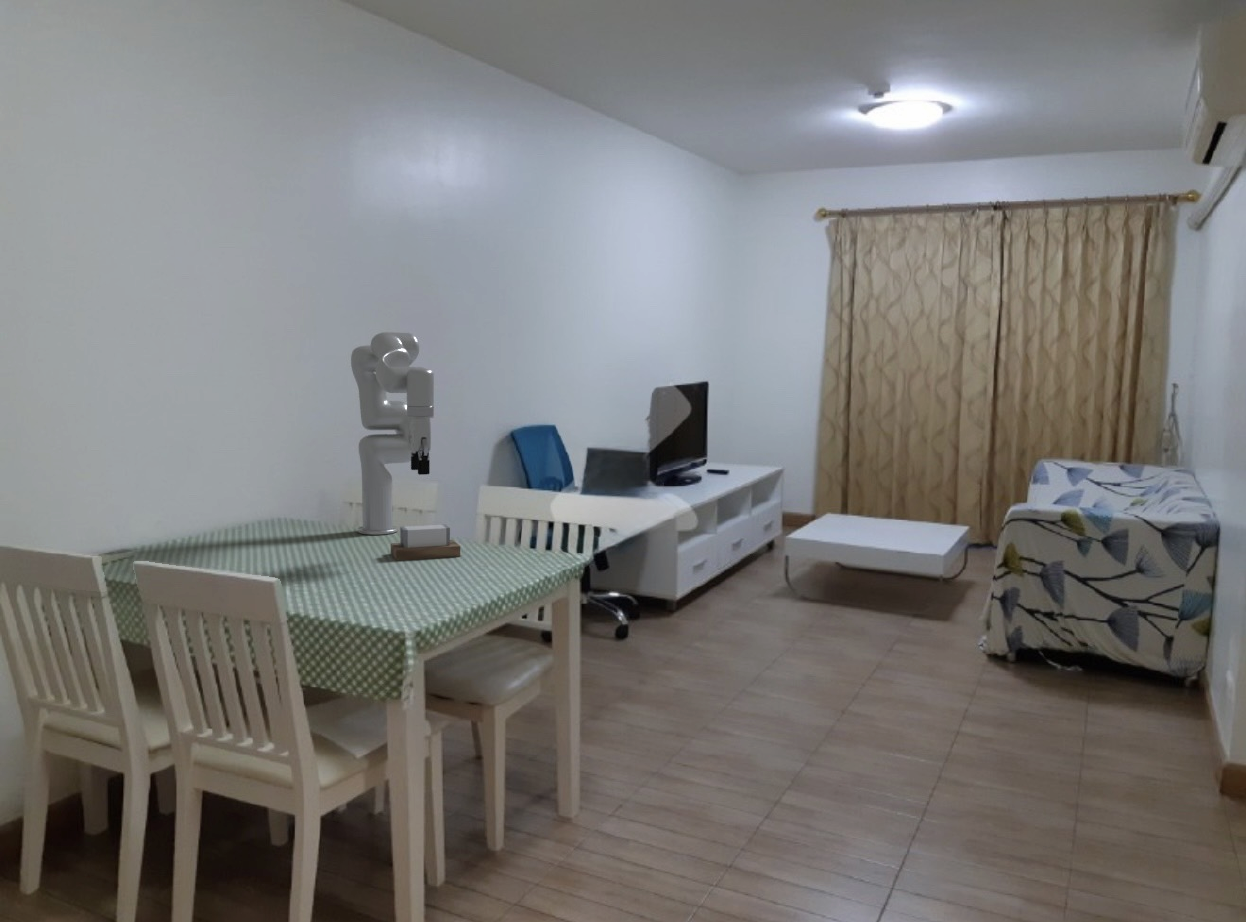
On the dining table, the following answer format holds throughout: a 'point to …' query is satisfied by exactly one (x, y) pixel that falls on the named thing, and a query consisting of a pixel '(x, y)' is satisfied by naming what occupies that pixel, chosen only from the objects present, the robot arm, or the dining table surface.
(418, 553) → the walnut stand
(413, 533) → the block
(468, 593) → the dining table surface
